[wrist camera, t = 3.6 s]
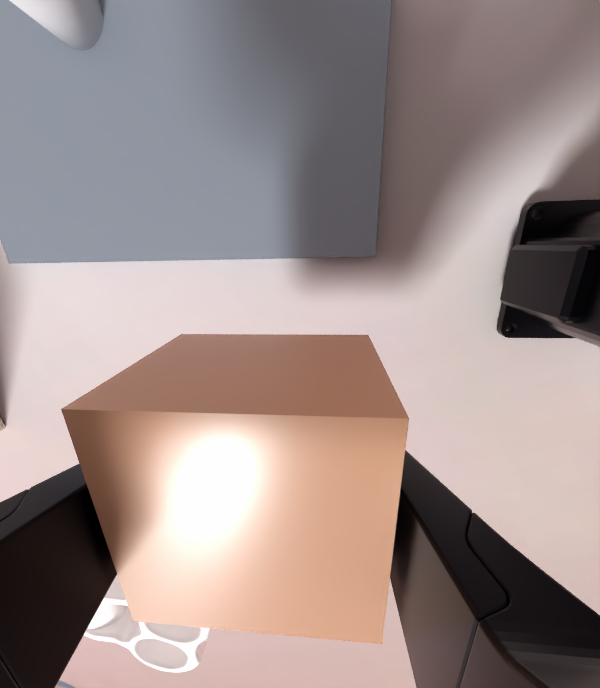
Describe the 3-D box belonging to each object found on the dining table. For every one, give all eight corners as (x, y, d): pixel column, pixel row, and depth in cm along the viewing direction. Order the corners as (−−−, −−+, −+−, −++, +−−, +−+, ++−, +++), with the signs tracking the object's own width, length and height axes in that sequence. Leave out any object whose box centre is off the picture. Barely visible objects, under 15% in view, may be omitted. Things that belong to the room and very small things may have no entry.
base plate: (402, -239, 10) (448, -525, 6) (372, 255, 15) (387, 259, 11) (-114, -155, 11) (-315, -338, 8) (23, 262, 17) (-60, 267, 13)
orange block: (368, 334, 9) (408, 418, 5) (359, 486, 11) (381, 644, 7) (181, 334, 9) (61, 409, 5) (205, 479, 11) (132, 621, 7)
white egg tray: (51, 470, 23) (233, 485, 21) (100, 613, 28) (244, 631, 27) (7, 507, 19) (217, 527, 18) (72, 659, 25) (233, 681, 24)
